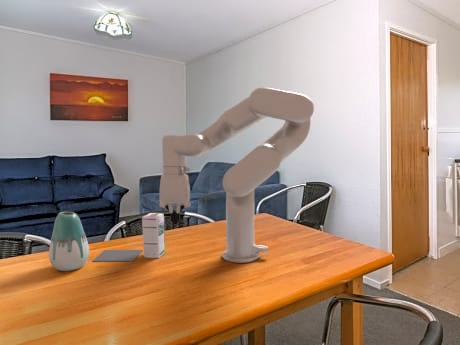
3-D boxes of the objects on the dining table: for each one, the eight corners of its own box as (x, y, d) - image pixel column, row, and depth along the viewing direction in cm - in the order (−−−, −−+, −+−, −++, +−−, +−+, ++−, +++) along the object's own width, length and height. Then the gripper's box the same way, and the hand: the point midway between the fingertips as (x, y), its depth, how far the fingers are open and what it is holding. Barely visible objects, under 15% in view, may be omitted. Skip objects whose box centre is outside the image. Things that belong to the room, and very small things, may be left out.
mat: (142, 250, 123) (142, 249, 123) (134, 261, 112) (133, 260, 112) (104, 250, 123) (104, 249, 123) (92, 261, 113) (92, 260, 112)
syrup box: (159, 258, 115) (157, 216, 113) (143, 257, 116) (141, 216, 115) (165, 252, 120) (164, 213, 119) (150, 252, 122) (148, 212, 120)
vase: (97, 262, 112) (95, 209, 110) (70, 276, 101) (67, 217, 99) (70, 259, 115) (66, 207, 113) (41, 271, 104) (37, 215, 103)
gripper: (197, 170, 119) (198, 221, 121) (155, 170, 119) (156, 221, 121) (194, 172, 111) (195, 226, 113) (149, 172, 111) (151, 226, 113)
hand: (175, 223), depth 117 cm, fingers closed
